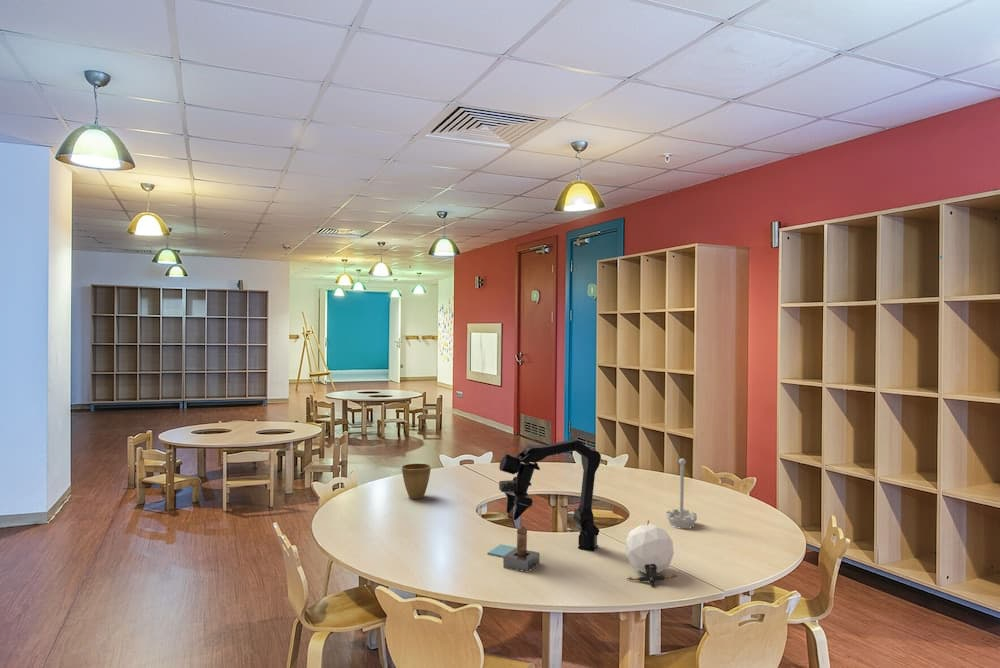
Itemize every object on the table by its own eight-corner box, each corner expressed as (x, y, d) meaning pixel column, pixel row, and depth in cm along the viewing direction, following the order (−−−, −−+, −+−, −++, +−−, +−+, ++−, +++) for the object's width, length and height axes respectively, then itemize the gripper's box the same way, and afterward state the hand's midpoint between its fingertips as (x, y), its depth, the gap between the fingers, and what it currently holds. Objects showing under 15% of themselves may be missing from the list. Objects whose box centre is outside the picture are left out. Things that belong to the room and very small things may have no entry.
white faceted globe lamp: (674, 544, 244) (666, 499, 233) (681, 601, 223) (673, 554, 212) (628, 547, 248) (618, 503, 237) (630, 603, 227) (619, 557, 216)
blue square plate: (525, 550, 255) (525, 549, 255) (512, 559, 245) (512, 557, 245) (500, 545, 260) (500, 544, 260) (487, 554, 250) (487, 552, 250)
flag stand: (697, 530, 282) (699, 462, 281) (667, 528, 284) (668, 460, 284) (695, 521, 295) (696, 456, 294) (665, 519, 297) (666, 454, 297)
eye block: (539, 563, 241) (539, 552, 241) (527, 572, 233) (527, 561, 233) (515, 558, 246) (515, 547, 246) (503, 566, 237) (503, 556, 237)
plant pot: (434, 494, 336) (435, 464, 335) (424, 502, 321) (424, 470, 321) (408, 492, 339) (408, 462, 339) (396, 499, 325) (396, 468, 325)
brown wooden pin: (528, 564, 240) (528, 525, 240) (523, 567, 237) (524, 528, 237) (519, 562, 242) (519, 524, 242) (514, 565, 239) (515, 526, 238)
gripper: (498, 466, 257) (485, 504, 256) (512, 477, 239) (498, 518, 238) (523, 474, 260) (511, 511, 259) (538, 485, 242) (525, 525, 241)
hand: (510, 516), depth 249 cm, fingers open, 9 cm apart
